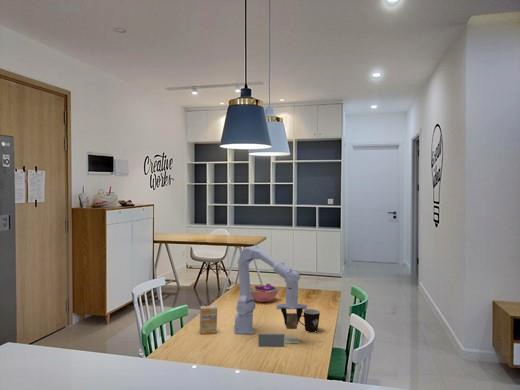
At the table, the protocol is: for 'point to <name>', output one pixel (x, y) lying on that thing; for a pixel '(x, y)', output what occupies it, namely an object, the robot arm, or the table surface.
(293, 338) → the pad
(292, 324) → the walnut block
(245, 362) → the table surface
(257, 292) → the cell model
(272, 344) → the screen
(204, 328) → the supplement box
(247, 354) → the table surface
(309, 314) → the coffee mug
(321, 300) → the table surface
